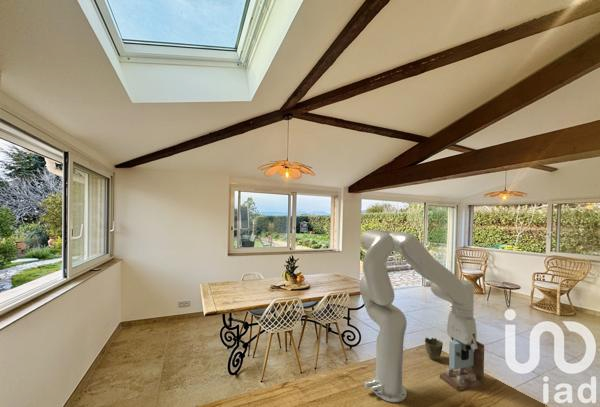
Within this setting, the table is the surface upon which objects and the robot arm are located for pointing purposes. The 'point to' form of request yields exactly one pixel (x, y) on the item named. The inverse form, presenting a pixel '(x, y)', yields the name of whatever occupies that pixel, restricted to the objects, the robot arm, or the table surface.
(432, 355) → the cup
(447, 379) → the cabinet base
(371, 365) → the table surface
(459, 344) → the door
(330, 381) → the table surface
